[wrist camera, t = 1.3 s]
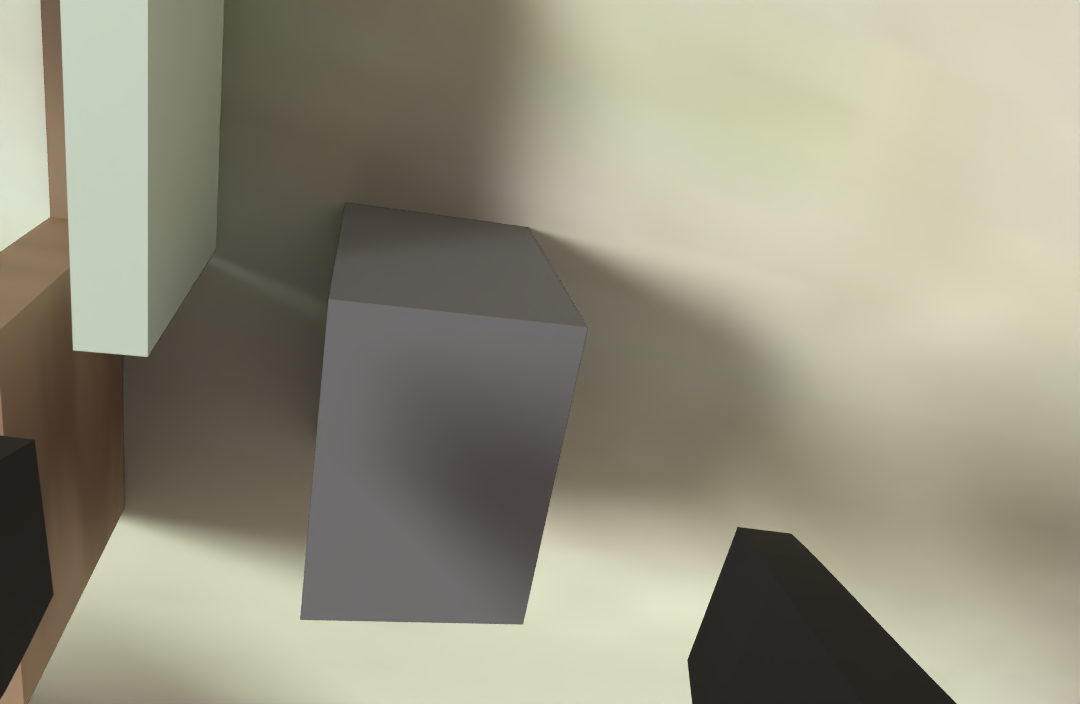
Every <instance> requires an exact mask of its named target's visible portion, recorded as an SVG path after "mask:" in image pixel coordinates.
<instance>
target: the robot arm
mask: <svg viewBox="0 0 1080 704" xmlns="http://www.w3.org/2000/svg"><path fill="white" fill-rule="evenodd" d="M53 595H54V592H53V584H52V576H51V568H50V559H49V551H48V543H47V535H46V527H45V519H44V511H43V503H42V495H41V487H40V479H39V470H38V462H37V454H36V446H35V440H32V439H24V438H16V437H8V436H0V699H1V697H2V696H3V694H4V693H5V691H6V689H7V687H8V686H9V684H10V682H11V680H12V678H13V676H14V674H15V672H16V670H17V668H18V666H19V664H20V662H21V660H22V659H23V657H24V655H25V653H26V651H27V649H28V647H29V645H30V643H31V641H32V639H33V637H34V635H35V632H36V630H37V628H38V626H39V624H40V622H41V620H42V618H43V616H44V614H45V612H46V610H47V608H48V606H49V603H50V601H51V599H52V597H53ZM688 669H689V678H690V687H691V696H692V704H956V703H955V702H954V701H953V700H952V699H951V698H950V697H949V695H948V694H947V693H946V692H945V691H944V690H943V689H942V688H941V687H940V686H939V685H938V684H937V683H936V682H935V681H934V680H933V679H932V678H931V677H930V676H929V675H928V674H927V673H926V672H925V671H924V670H923V669H922V668H921V667H920V666H919V665H918V664H917V663H916V662H915V661H914V660H913V659H912V658H911V657H910V656H909V655H908V654H907V653H906V651H905V650H904V649H903V648H902V647H901V646H900V645H899V644H898V643H897V642H896V641H895V640H894V639H893V638H892V637H891V636H890V635H889V634H888V633H887V632H886V631H885V630H884V628H883V627H882V626H881V625H880V624H879V623H878V622H877V621H876V620H875V619H874V618H873V617H872V616H871V615H870V614H869V613H868V612H867V611H866V610H865V608H864V607H863V606H862V605H861V604H860V603H859V602H858V601H857V600H856V599H855V598H854V597H853V596H852V595H851V594H850V593H849V592H848V591H847V589H846V588H845V587H844V586H843V585H842V584H841V583H840V582H839V581H838V580H837V579H836V578H835V577H834V576H833V575H832V574H831V573H830V572H829V571H828V570H827V569H826V567H825V566H824V565H823V564H822V563H821V562H820V561H819V560H818V559H817V558H816V557H815V556H814V555H813V554H812V553H811V552H810V551H809V550H808V549H807V548H806V547H805V546H804V545H803V544H802V543H801V542H799V541H798V540H797V539H796V538H795V537H794V536H793V535H792V534H789V533H781V532H773V531H765V530H756V529H748V528H740V527H738V528H737V531H736V533H735V536H734V538H733V541H732V544H731V546H730V549H729V552H728V554H727V557H726V560H725V562H724V565H723V568H722V570H721V573H720V576H719V578H718V581H717V583H716V586H715V589H714V591H713V594H712V597H711V599H710V602H709V605H708V607H707V610H706V613H705V615H704V618H703V621H702V623H701V626H700V629H699V631H698V634H697V636H696V639H695V642H694V644H693V647H692V650H691V652H690V655H689V658H688Z"/></svg>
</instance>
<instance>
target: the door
mask: <svg viewBox="0 0 1080 704" xmlns="http://www.w3.org/2000/svg"><path fill="white" fill-rule="evenodd" d="M60 13H61V40H62V67H63V94H64V121H65V148H66V175H67V202H68V229H69V256H70V282H71V309H72V336H73V350H75V351H86V352H98V353H109V354H121V355H132V356H143V357H148V356H149V354H150V353H151V351H152V349H153V348H154V346H155V345H156V343H157V341H158V340H159V338H160V337H161V335H162V334H163V332H164V330H165V329H166V327H167V326H168V324H169V322H170V321H171V319H172V318H173V316H174V315H175V313H176V311H177V310H178V308H179V307H180V305H181V304H182V302H183V300H184V299H185V297H186V296H187V294H188V292H189V291H190V289H191V288H192V286H193V285H194V283H195V281H196V280H197V278H198V277H199V275H200V273H201V272H202V270H203V269H204V267H205V266H206V264H207V262H208V261H209V259H210V258H211V256H212V254H213V253H214V251H215V250H216V236H217V206H218V175H219V145H220V114H221V84H222V53H223V23H224V0H60Z"/></svg>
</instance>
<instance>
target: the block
mask: <svg viewBox="0 0 1080 704" xmlns="http://www.w3.org/2000/svg"><path fill="white" fill-rule="evenodd" d="M587 329H588V327H587V325H586V323H585V322H584V320H583V318H582V317H581V315H580V313H579V312H578V310H577V308H576V307H575V305H574V303H573V302H572V300H571V298H570V297H569V295H568V293H567V292H566V290H565V288H564V287H563V285H562V283H561V282H560V280H559V278H558V277H557V275H556V273H555V272H554V270H553V268H552V266H551V265H550V263H549V261H548V260H547V258H546V256H545V255H544V253H543V251H542V250H541V248H540V246H539V245H538V243H537V241H536V240H535V238H534V236H533V235H532V233H531V231H530V230H529V228H528V227H522V226H515V225H507V224H500V223H493V222H485V221H478V220H470V219H463V218H456V217H448V216H441V215H433V214H426V213H419V212H411V211H404V210H397V209H389V208H382V207H374V206H367V205H360V204H352V203H345V208H344V213H343V219H342V225H341V231H340V236H339V242H338V248H337V254H336V259H335V265H334V271H333V276H332V282H331V288H330V294H329V300H328V311H327V322H326V334H325V345H324V356H323V367H322V379H321V390H320V401H319V413H318V424H317V435H316V447H315V458H314V469H313V480H312V492H311V503H310V514H309V526H308V537H307V548H306V560H305V571H304V582H303V593H302V605H301V616H300V620H337V621H385V622H432V623H480V624H523V622H524V617H525V613H526V608H527V603H528V599H529V594H530V590H531V585H532V581H533V576H534V571H535V567H536V562H537V558H538V553H539V548H540V544H541V539H542V535H543V530H544V526H545V521H546V516H547V512H548V507H549V503H550V498H551V494H552V489H553V484H554V480H555V475H556V471H557V466H558V461H559V457H560V452H561V448H562V443H563V439H564V434H565V429H566V425H567V420H568V416H569V411H570V407H571V402H572V397H573V393H574V388H575V384H576V379H577V374H578V370H579V365H580V361H581V356H582V352H583V347H584V342H585V338H586V333H587Z"/></svg>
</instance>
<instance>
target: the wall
mask: <svg viewBox="0 0 1080 704" xmlns="http://www.w3.org/2000/svg"><path fill="white" fill-rule="evenodd" d="M41 21H42V43H43V65H44V87H45V109H46V131H47V153H48V175H49V197H50V218H48V219H47V220H45V221H44V222H43V223H41V224H40V225H38V226H37V227H35V228H34V229H33V230H31V231H30V232H28V233H27V234H25V235H24V236H22V237H21V238H20V239H18V240H17V241H15V242H14V243H12V244H11V245H10V246H8V247H7V248H5V249H4V250H2V251H1V252H0V436H8V437H16V438H24V439H32V440H35V446H36V454H37V462H38V470H39V479H40V487H41V495H42V503H43V511H44V519H45V527H46V535H47V543H48V551H49V559H50V568H51V576H52V584H53V592H54V595H53V597H52V599H51V601H50V603H49V606H48V608H47V610H46V612H45V614H44V616H43V618H42V620H41V622H40V624H39V626H38V628H37V630H36V632H35V635H34V637H33V639H32V641H31V643H30V645H29V647H28V649H27V651H26V653H25V655H24V657H23V659H22V660H21V662H20V664H19V666H18V668H17V670H16V672H15V674H14V676H13V678H12V680H11V682H10V684H9V686H8V687H7V689H6V691H5V693H4V694H3V696H2V697H1V699H0V704H28V702H29V700H30V698H31V696H32V694H33V692H34V690H35V688H36V686H37V684H38V682H39V680H40V678H41V676H42V674H43V672H44V670H45V668H46V666H47V664H48V662H49V660H50V658H51V656H52V654H53V652H54V650H55V648H56V646H57V644H58V642H59V640H60V638H61V636H62V633H63V631H64V629H65V627H66V625H67V623H68V621H69V619H70V617H71V615H72V613H73V611H74V609H75V607H76V605H77V603H78V601H79V599H80V597H81V595H82V593H83V591H84V589H85V587H86V585H87V583H88V581H89V579H90V577H91V575H92V573H93V571H94V569H95V567H96V565H97V563H98V561H99V559H100V557H101V555H102V552H103V550H104V548H105V546H106V544H107V542H108V540H109V538H110V536H111V534H112V532H113V530H114V528H115V526H116V524H117V522H118V520H119V518H120V516H121V514H122V512H123V510H124V446H123V366H122V355H121V354H109V353H98V352H86V351H75V350H73V336H72V309H71V282H70V256H69V229H68V202H67V175H66V148H65V121H64V94H63V67H62V40H61V13H60V0H41Z"/></svg>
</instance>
